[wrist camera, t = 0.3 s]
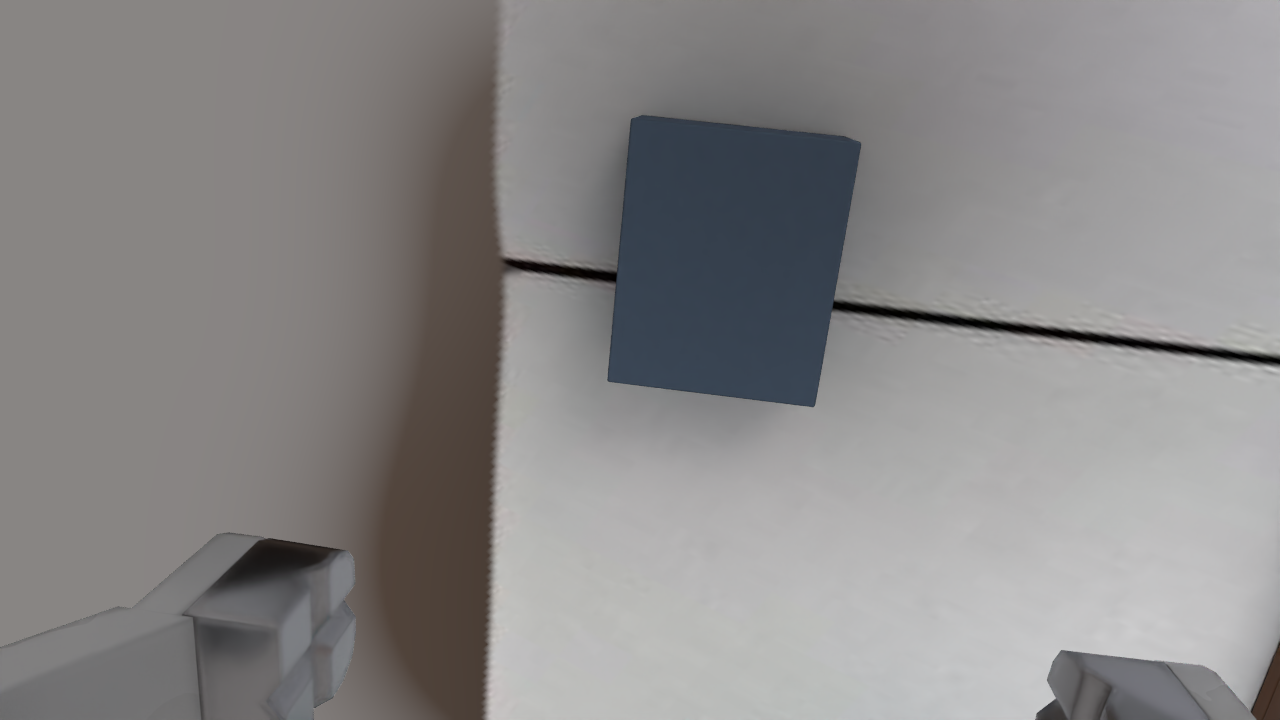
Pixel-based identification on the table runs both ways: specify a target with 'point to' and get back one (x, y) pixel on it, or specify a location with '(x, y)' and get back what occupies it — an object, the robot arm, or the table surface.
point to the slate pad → (729, 258)
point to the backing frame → (1269, 693)
